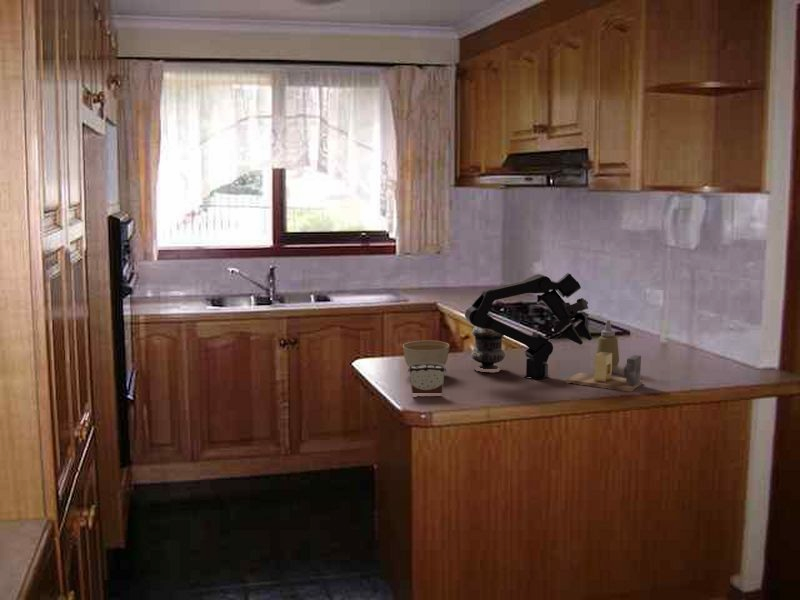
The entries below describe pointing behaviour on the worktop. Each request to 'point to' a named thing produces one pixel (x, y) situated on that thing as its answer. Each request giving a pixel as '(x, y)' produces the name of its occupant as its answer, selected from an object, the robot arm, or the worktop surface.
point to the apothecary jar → (487, 347)
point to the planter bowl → (426, 352)
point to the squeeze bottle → (609, 343)
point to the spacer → (603, 366)
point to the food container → (427, 377)
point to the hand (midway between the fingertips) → (586, 341)
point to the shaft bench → (617, 383)
